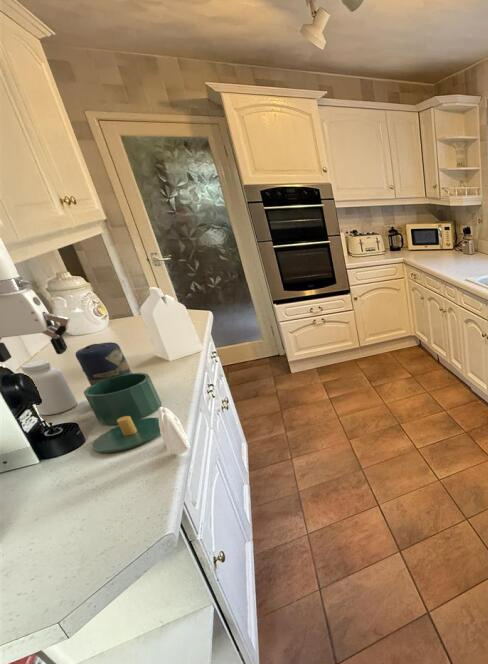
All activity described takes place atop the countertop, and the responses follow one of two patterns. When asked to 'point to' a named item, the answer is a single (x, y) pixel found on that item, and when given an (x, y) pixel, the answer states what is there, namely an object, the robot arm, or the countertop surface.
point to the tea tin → (123, 398)
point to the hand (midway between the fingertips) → (34, 356)
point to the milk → (169, 326)
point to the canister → (102, 362)
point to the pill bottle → (50, 387)
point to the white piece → (172, 432)
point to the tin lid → (127, 434)
